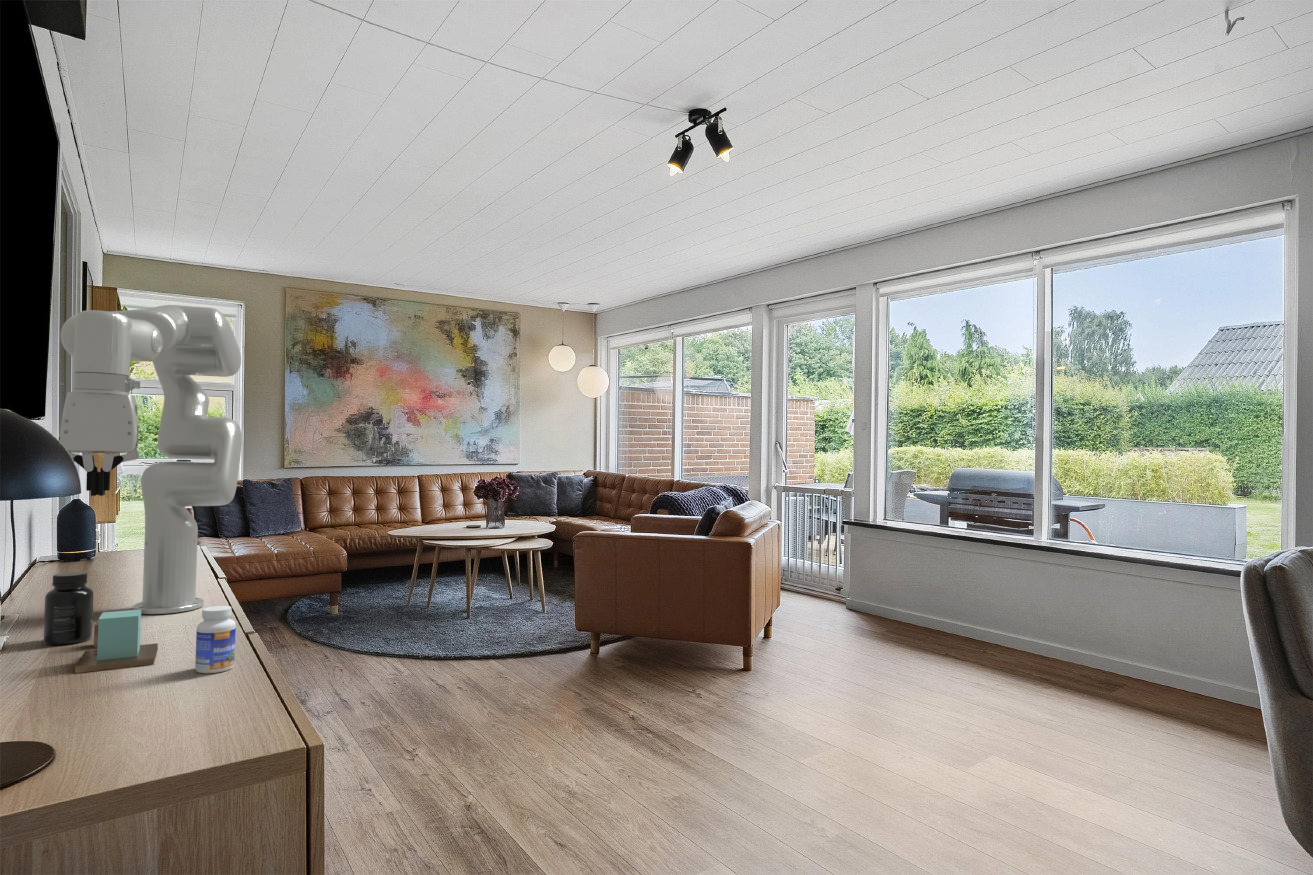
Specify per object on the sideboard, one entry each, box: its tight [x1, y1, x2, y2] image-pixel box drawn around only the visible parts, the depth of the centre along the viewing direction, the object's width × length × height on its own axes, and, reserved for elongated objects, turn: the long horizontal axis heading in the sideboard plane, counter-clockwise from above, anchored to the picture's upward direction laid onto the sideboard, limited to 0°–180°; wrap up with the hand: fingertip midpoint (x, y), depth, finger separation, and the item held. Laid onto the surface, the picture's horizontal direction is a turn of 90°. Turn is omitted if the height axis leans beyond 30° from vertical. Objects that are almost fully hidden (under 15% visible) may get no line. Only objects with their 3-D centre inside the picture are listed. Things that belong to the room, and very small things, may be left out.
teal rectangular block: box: [96, 609, 142, 661], centre depth 118 cm, size 5×5×7 cm
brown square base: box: [74, 643, 159, 674], centre depth 118 cm, size 10×10×7 cm
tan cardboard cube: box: [93, 620, 98, 649], centre depth 126 cm, size 3×3×4 cm
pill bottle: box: [194, 605, 237, 674], centre depth 115 cm, size 5×5×10 cm
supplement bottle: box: [43, 571, 94, 646], centre depth 128 cm, size 7×7×12 cm
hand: (98, 495), depth 119 cm, fingers closed
